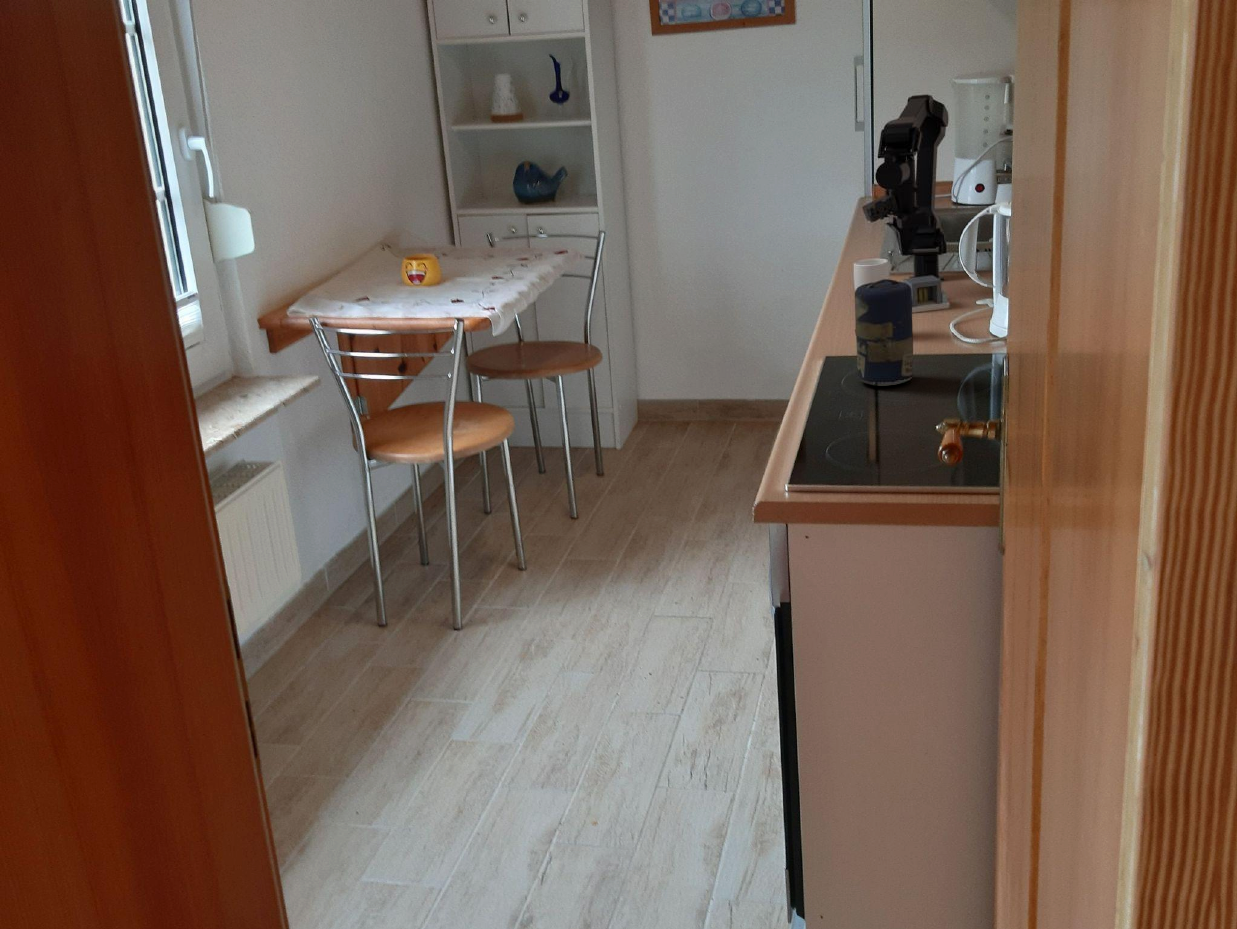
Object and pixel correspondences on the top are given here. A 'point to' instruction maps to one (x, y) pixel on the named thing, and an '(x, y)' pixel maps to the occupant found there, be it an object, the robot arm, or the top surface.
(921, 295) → the board
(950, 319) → the top surface
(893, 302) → the canister
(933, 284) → the grey block
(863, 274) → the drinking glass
